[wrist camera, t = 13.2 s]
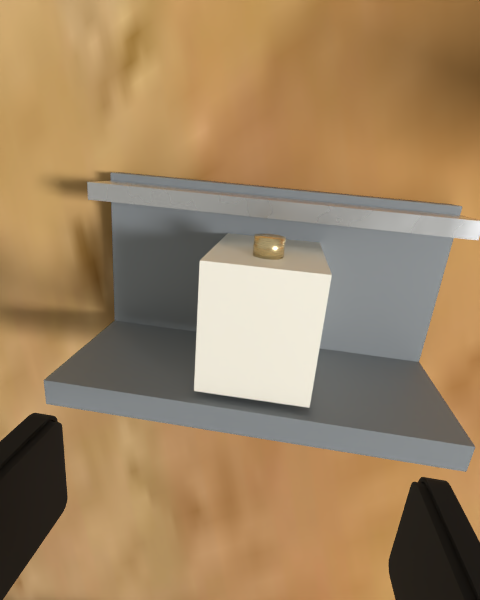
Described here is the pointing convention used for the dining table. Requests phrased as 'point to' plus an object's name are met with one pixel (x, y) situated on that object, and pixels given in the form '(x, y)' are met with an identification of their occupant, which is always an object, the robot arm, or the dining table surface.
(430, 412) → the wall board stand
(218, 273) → the cabinet block
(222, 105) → the dining table surface
